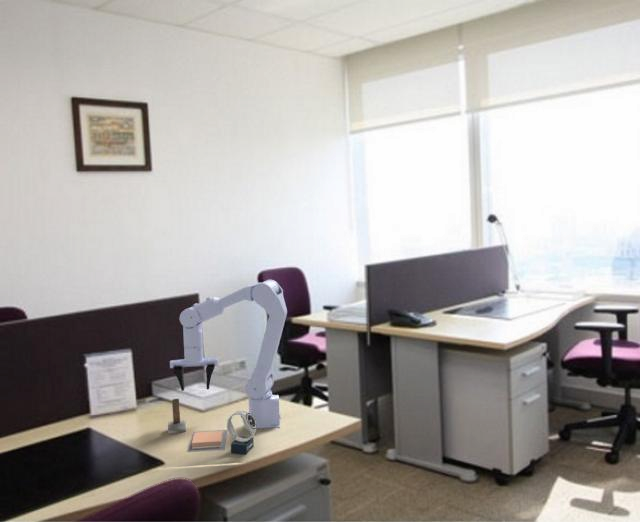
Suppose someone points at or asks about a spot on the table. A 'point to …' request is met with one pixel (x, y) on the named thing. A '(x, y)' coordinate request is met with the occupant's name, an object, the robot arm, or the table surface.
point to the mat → (210, 447)
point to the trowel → (176, 419)
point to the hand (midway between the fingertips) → (195, 389)
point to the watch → (241, 443)
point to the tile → (207, 439)
